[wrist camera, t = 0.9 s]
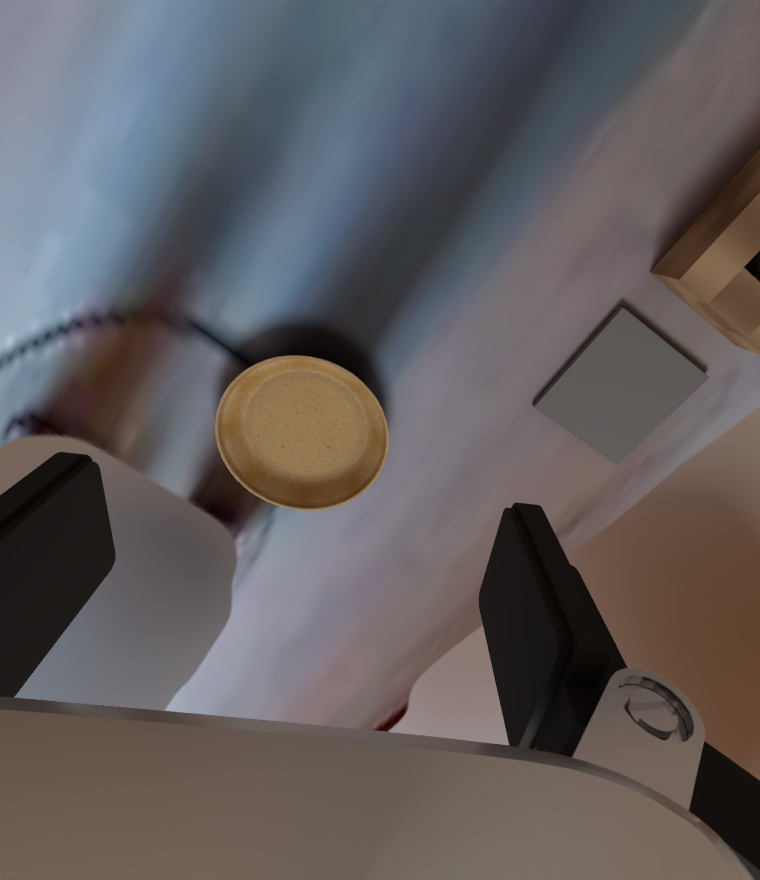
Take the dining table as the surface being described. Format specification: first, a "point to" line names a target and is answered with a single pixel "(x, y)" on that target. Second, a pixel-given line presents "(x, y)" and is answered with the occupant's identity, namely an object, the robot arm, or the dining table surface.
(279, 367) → the plant saucer
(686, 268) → the eye block
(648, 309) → the dining table surface
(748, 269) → the teal capped rod
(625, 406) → the rubber pad
